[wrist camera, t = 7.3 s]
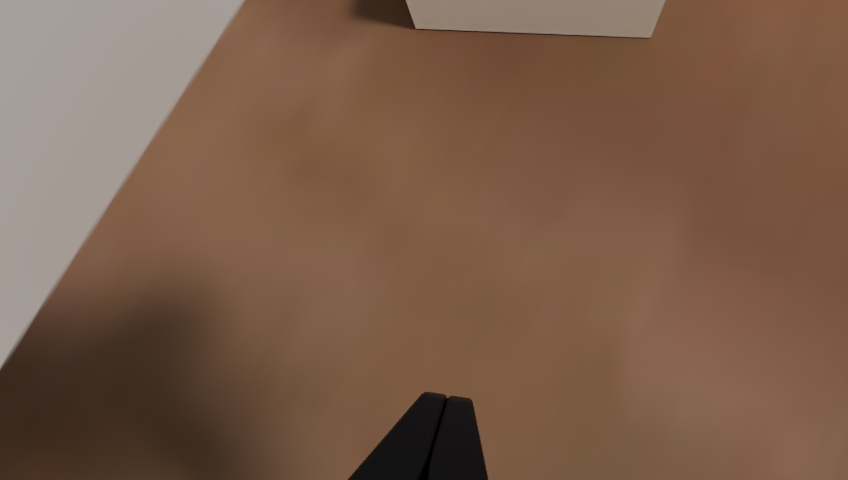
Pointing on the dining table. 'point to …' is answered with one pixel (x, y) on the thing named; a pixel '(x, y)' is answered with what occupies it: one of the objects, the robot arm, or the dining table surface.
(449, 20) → the tile
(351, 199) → the dining table surface
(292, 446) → the dining table surface
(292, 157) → the dining table surface
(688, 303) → the dining table surface
